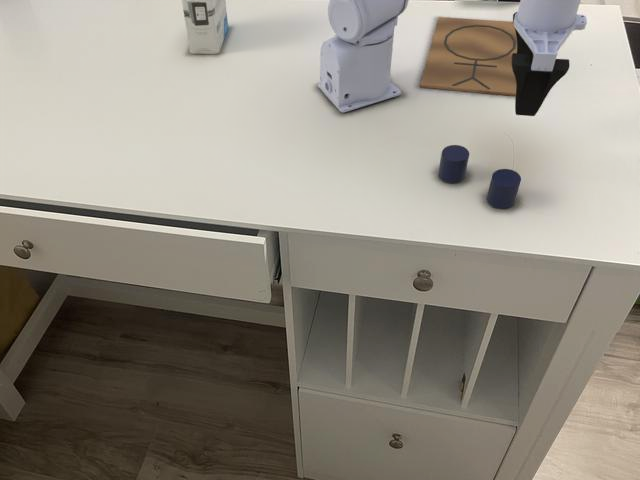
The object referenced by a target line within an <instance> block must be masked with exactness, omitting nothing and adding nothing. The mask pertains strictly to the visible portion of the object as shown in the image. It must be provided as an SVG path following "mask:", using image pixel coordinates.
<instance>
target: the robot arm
mask: <svg viewBox="0 0 640 480" xmlns="http://www.w3.org/2000/svg"><path fill="white" fill-rule="evenodd" d="M409 1H410V0H329V2H328V5H327V17H328V21H329V24H330V27H331V29H332V31H333V32H334V34H335V35H333V36H332V37H330V38H328V39H326V40H323V42H322V43H321V46H320V55H319V56H320V57H319V59H320V60H319V61H320V63H319V65H320V66H319V69H320V71H319V73H320V74H319V76H320V78H319V80H320V81H319V82H318V84H317V87H318V88H319V89H320V90H321V92H322V93H323V94H324V96H326V97H327V99H328V100H330V102H331V103H332V104H333V105H334V106H335V107H336V109H337V110H339V112H340V113H347V112H350V111H353V110H357V109H360V108H363V107H366V106H369V105H373V104H376V103H380V102H382V101H385V100H389V99H392V98H395V97H399V96H401V95H402V91H401V89H399V88H398V87H397V86H396V85H395V84H394V83H393V82H392V81H391V71H392V70H391V69H392V59H393V58H392V57H393V49H394V48H393V47H394V36H395V28H396V26H398V17H399V16H400V15H402V14H403V13H404V12H405V11H406V9H407V7H408V5H409ZM581 1H582V0H520V1H519V5H518V10H517V11H516V12H514V13H513V14H512V22H513V24H514V27H515V31H516V36H517V53H512V69H513V73H514V75H515V79H516V96H515V97H514V98H515V100H514V112H515V115H516V116H523V117H525V116H526V117H535V116H536V115H537V114H538V112H539V111H540V108H541V107H542V105H543V103H544V101H546V98H547V97H548V95H549V94H550V91H551V90H552V88H553V87H555V86H556V84H557V83H558V82H559V81H560V80H561V79H563V77H564V76H565V75H567V73H568V71H569V70H570V58H569V59H567V58H557V57H558V52H559V51H560V49H561V48H562V47H563V45H564V44H565V42H566V41H567V40H568V38H569V37H570V36H571V34H572V33H573V32H574V31H582V30H585V29H586V26H587V24H588V23H587V16H586V15H584V14H578V10H579V8H580V4H581Z"/></svg>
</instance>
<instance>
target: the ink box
mask: <svg viewBox="0 0 640 480" xmlns="http://www.w3.org/2000/svg"><path fill="white" fill-rule="evenodd" d="M226 2H227V1H226V0H181V4H182V11H183V17H184V23H185V29H186V37H187V43H188V48H189V53H190V54H191V55H192V54H194V55H195V54H197V55H199V54H202V55H204V54H205V55H207V54H208V55H217V54H219V53H220V51H221V48H222V46H223V43H224V40H225V39H226V35H227V33H228V30H229V22H228V12H227V3H226Z"/></svg>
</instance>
